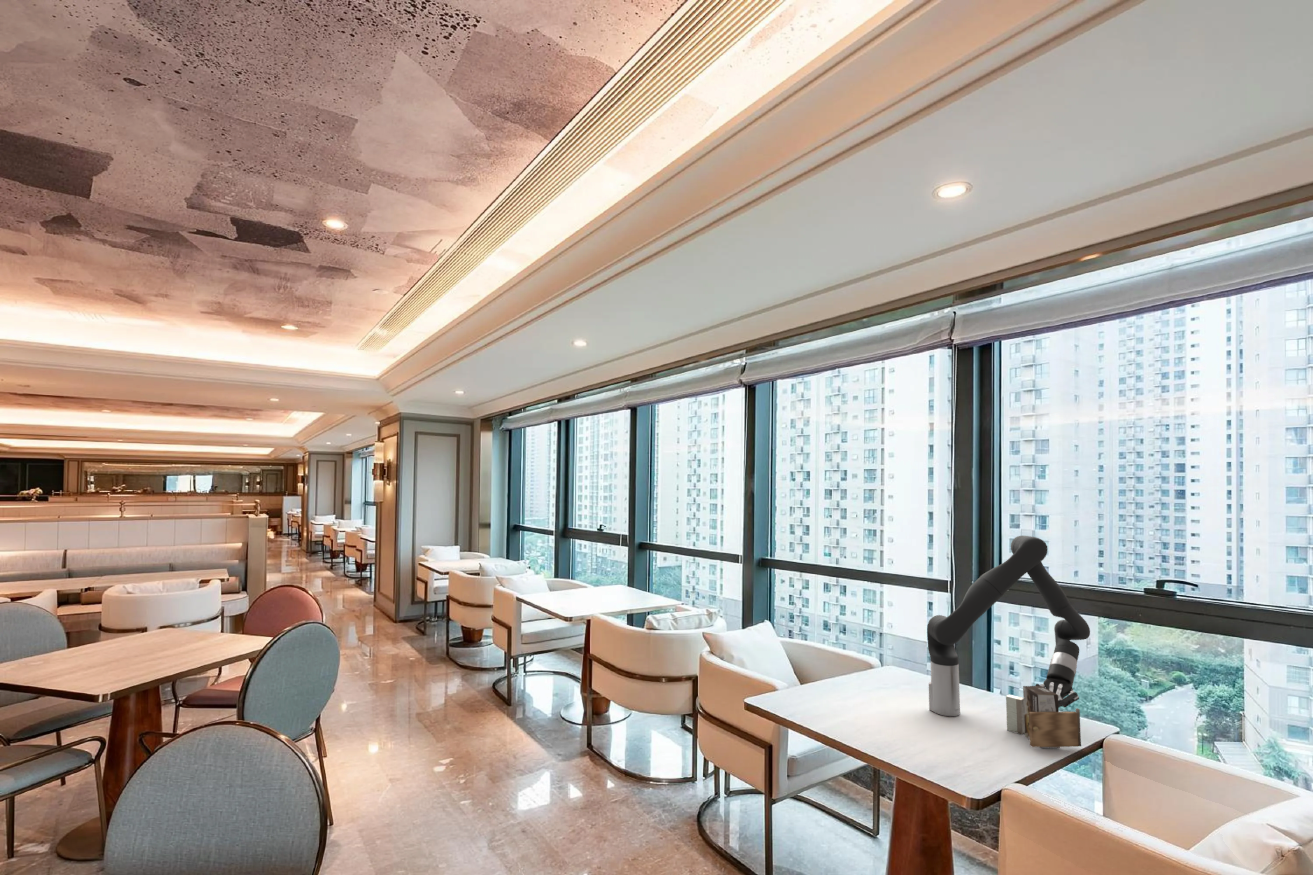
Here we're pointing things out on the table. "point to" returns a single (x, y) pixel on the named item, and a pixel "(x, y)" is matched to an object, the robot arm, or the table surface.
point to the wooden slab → (1055, 729)
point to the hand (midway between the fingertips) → (1051, 714)
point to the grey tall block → (1015, 714)
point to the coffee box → (1038, 703)
